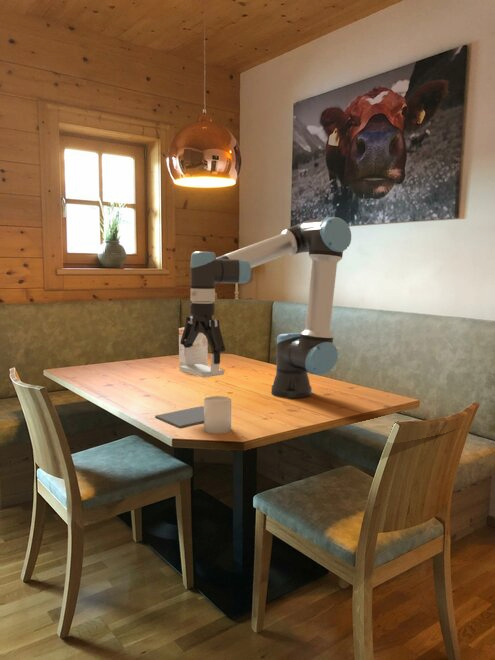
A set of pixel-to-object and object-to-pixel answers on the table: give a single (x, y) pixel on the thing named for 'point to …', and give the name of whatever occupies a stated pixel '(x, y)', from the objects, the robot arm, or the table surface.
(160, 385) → the table surface
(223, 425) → the cream rounded cylinder
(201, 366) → the hard drive
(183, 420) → the mat
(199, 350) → the coffeecake box
